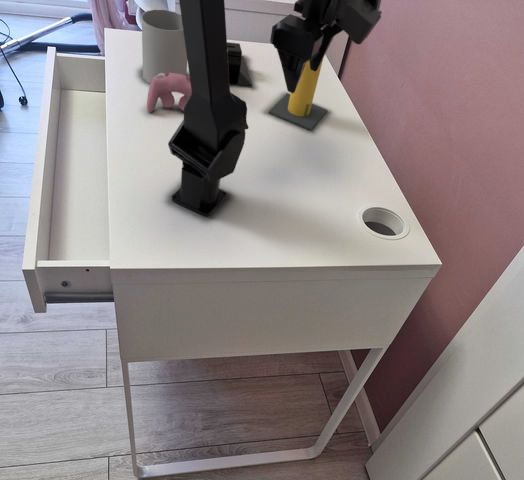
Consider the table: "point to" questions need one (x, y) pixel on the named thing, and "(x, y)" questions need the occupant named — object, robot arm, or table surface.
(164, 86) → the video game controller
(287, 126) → the table surface
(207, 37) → the robot arm
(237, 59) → the dark flat-based piece
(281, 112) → the coaster
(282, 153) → the table surface
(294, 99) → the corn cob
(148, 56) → the cup
